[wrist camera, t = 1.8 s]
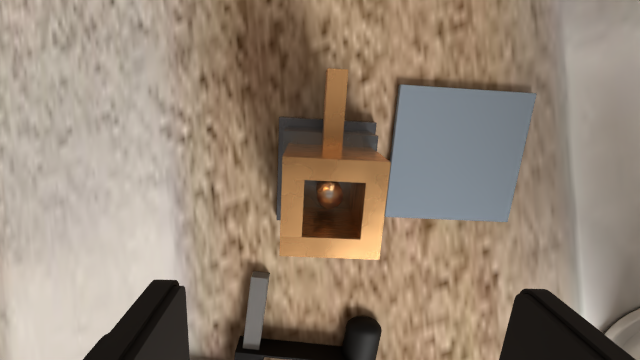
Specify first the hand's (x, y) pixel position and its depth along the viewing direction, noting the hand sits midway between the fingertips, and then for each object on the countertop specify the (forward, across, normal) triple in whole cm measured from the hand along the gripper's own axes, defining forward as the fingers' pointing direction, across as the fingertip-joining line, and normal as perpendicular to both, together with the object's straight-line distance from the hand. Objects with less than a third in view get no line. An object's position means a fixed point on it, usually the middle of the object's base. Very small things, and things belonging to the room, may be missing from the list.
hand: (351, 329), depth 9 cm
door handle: (+21, +3, +19) cm, 29 cm away
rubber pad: (+20, -12, -2) cm, 24 cm away
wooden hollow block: (+16, -1, -2) cm, 16 cm away
